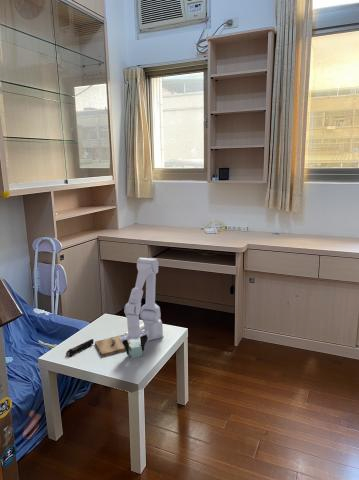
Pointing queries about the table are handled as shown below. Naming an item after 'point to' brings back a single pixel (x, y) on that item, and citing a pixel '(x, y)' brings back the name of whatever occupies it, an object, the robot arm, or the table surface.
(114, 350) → the stub board
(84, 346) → the electric trimmer
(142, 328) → the marker
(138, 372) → the table surface
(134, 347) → the mint green cube
